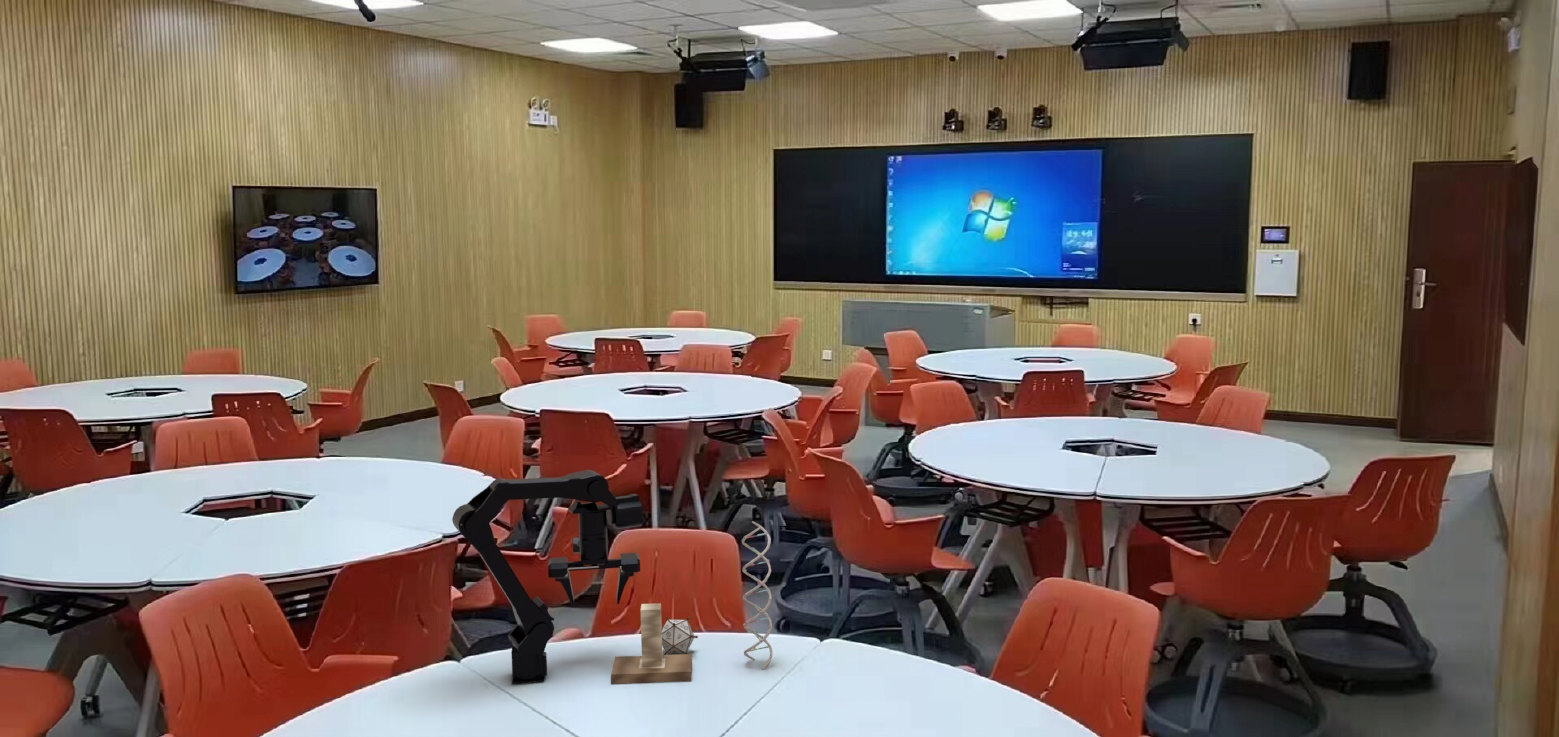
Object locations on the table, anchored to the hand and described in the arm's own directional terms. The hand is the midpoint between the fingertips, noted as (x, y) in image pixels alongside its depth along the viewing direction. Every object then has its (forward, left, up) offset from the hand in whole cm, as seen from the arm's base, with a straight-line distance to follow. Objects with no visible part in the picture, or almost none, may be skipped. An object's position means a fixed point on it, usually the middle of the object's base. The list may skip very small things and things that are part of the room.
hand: (595, 605), depth 243 cm
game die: (+17, +3, -13) cm, 22 cm away
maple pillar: (+11, -7, -11) cm, 17 cm away
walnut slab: (+11, -7, -13) cm, 18 cm away
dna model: (+33, -7, -13) cm, 36 cm away
